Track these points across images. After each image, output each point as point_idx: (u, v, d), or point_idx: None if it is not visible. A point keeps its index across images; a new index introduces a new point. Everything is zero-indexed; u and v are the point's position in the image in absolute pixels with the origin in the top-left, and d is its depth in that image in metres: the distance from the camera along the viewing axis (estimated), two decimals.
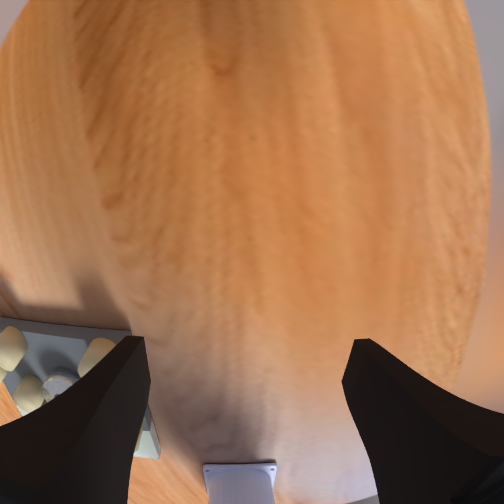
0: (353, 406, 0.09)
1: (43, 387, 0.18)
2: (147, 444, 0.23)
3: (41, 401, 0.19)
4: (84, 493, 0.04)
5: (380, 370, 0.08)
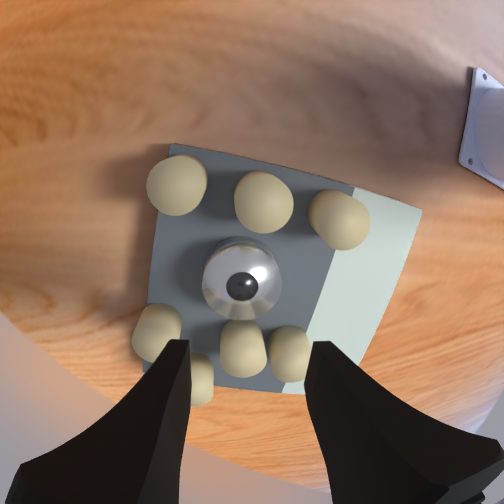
0: (312, 410, 0.09)
1: (213, 306, 0.16)
2: (384, 208, 0.17)
3: (253, 334, 0.17)
4: None
5: (333, 375, 0.08)
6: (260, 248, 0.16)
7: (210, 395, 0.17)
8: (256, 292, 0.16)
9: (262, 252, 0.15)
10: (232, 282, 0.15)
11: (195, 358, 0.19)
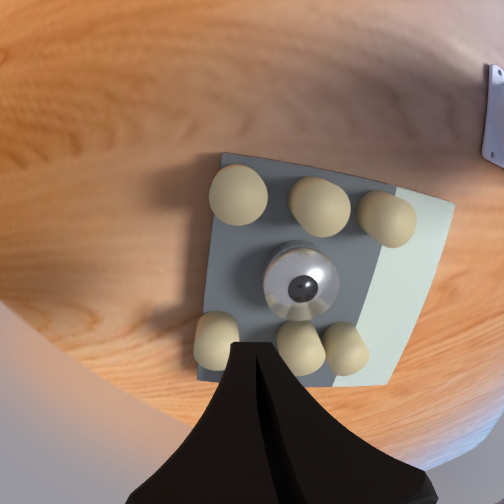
0: None
1: (275, 310, 0.16)
2: (422, 205, 0.17)
3: (310, 333, 0.18)
4: None
5: (261, 378, 0.08)
6: (317, 251, 0.16)
7: None
8: (315, 293, 0.16)
9: (321, 255, 0.16)
10: (294, 285, 0.16)
11: None
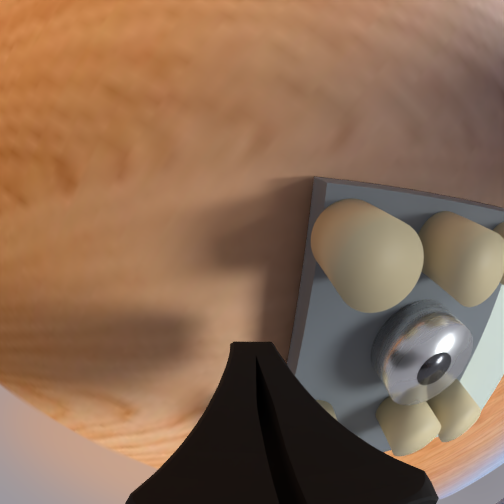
0: None
1: (397, 399, 0.10)
2: None
3: (425, 407, 0.11)
4: None
5: (262, 378, 0.08)
6: (452, 316, 0.10)
7: None
8: (446, 369, 0.10)
9: (460, 323, 0.09)
10: (426, 368, 0.10)
11: None
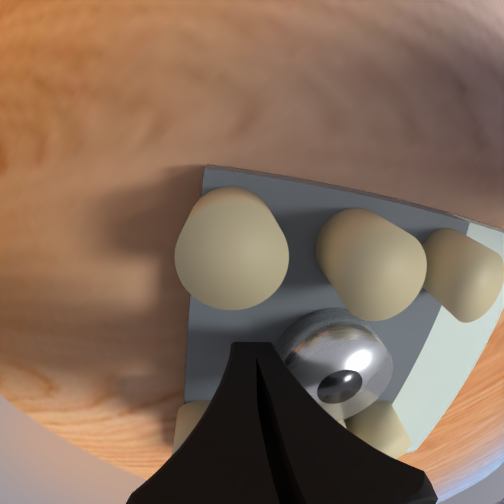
0: None
1: None
2: (495, 246, 0.10)
3: None
4: None
5: (261, 378, 0.08)
6: (365, 330, 0.10)
7: None
8: (357, 390, 0.10)
9: (372, 339, 0.09)
10: (327, 384, 0.09)
11: None
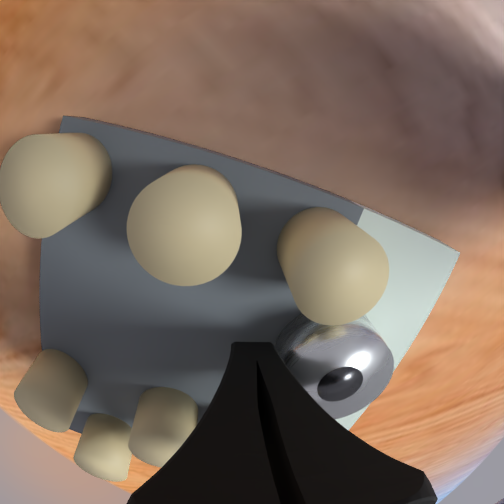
0: None
1: None
2: (406, 247, 0.10)
3: (178, 418, 0.10)
4: None
5: (261, 378, 0.08)
6: (368, 328, 0.09)
7: (124, 475, 0.10)
8: (357, 388, 0.10)
9: (375, 337, 0.09)
10: (328, 381, 0.09)
11: (107, 425, 0.11)
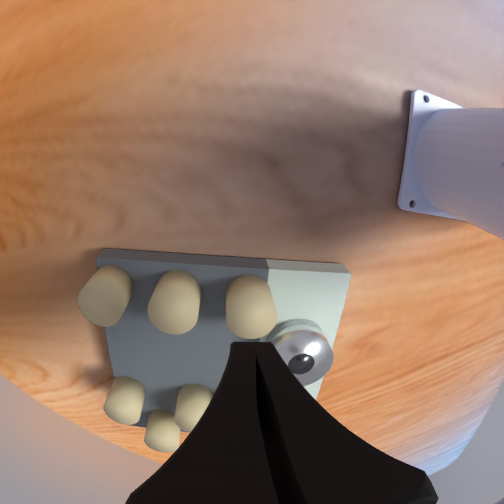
0: None
1: None
2: (305, 281, 0.18)
3: (199, 399, 0.19)
4: None
5: (261, 378, 0.08)
6: (309, 331, 0.18)
7: (176, 444, 0.19)
8: (313, 364, 0.18)
9: (311, 335, 0.17)
10: (292, 363, 0.17)
11: (162, 415, 0.20)
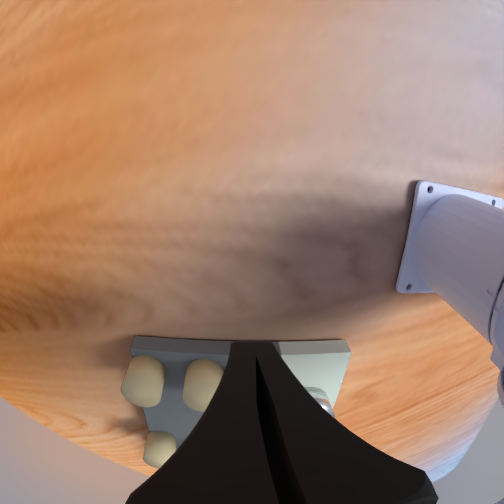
0: None
1: None
2: (312, 361, 0.20)
3: None
4: None
5: (262, 378, 0.08)
6: None
7: None
8: None
9: None
10: None
11: None
